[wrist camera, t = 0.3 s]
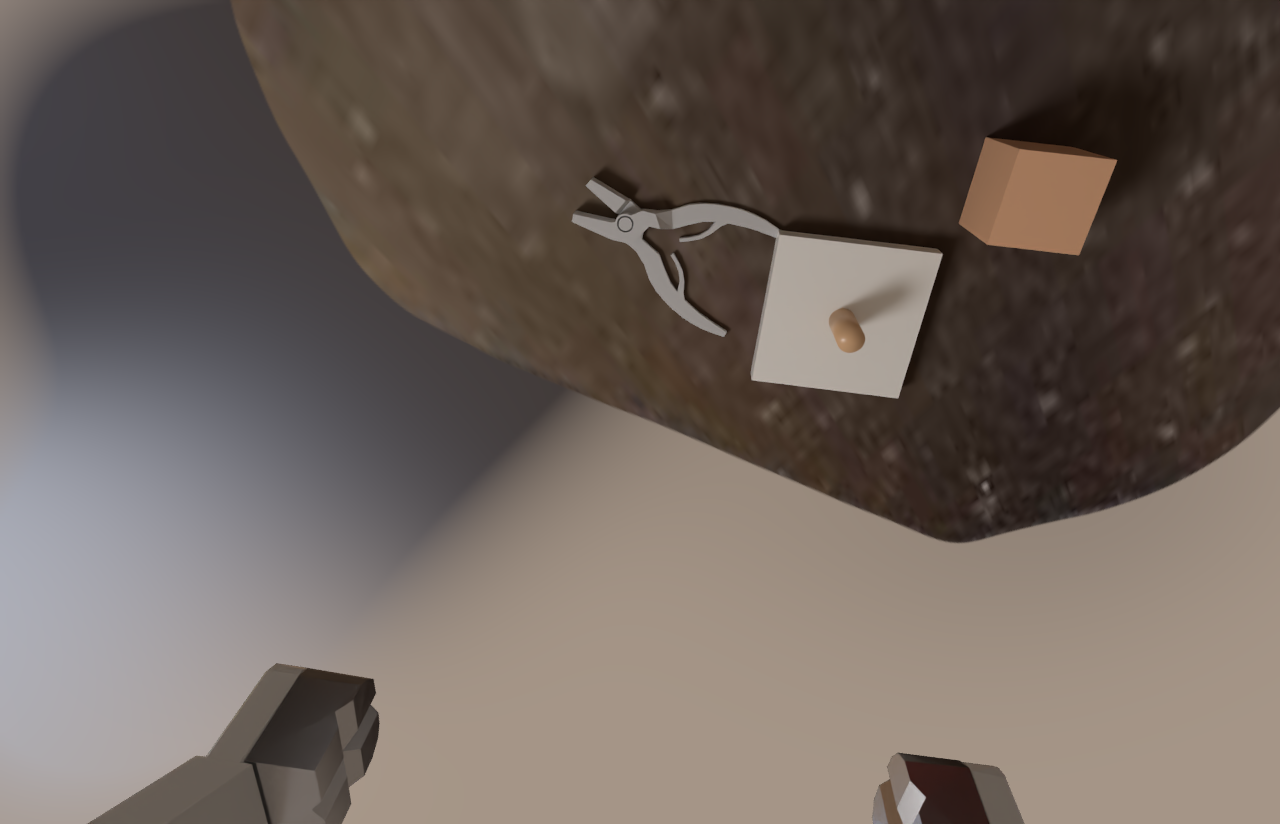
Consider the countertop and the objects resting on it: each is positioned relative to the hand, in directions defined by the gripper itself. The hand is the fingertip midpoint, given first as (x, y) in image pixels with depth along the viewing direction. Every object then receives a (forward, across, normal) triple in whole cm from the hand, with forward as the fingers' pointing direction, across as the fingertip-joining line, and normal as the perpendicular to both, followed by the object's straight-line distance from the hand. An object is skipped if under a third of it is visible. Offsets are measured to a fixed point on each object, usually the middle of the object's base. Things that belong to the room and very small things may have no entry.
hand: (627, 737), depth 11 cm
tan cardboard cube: (+46, -23, -3) cm, 52 cm away
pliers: (+47, +1, +4) cm, 47 cm away
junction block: (+46, -13, +8) cm, 49 cm away
